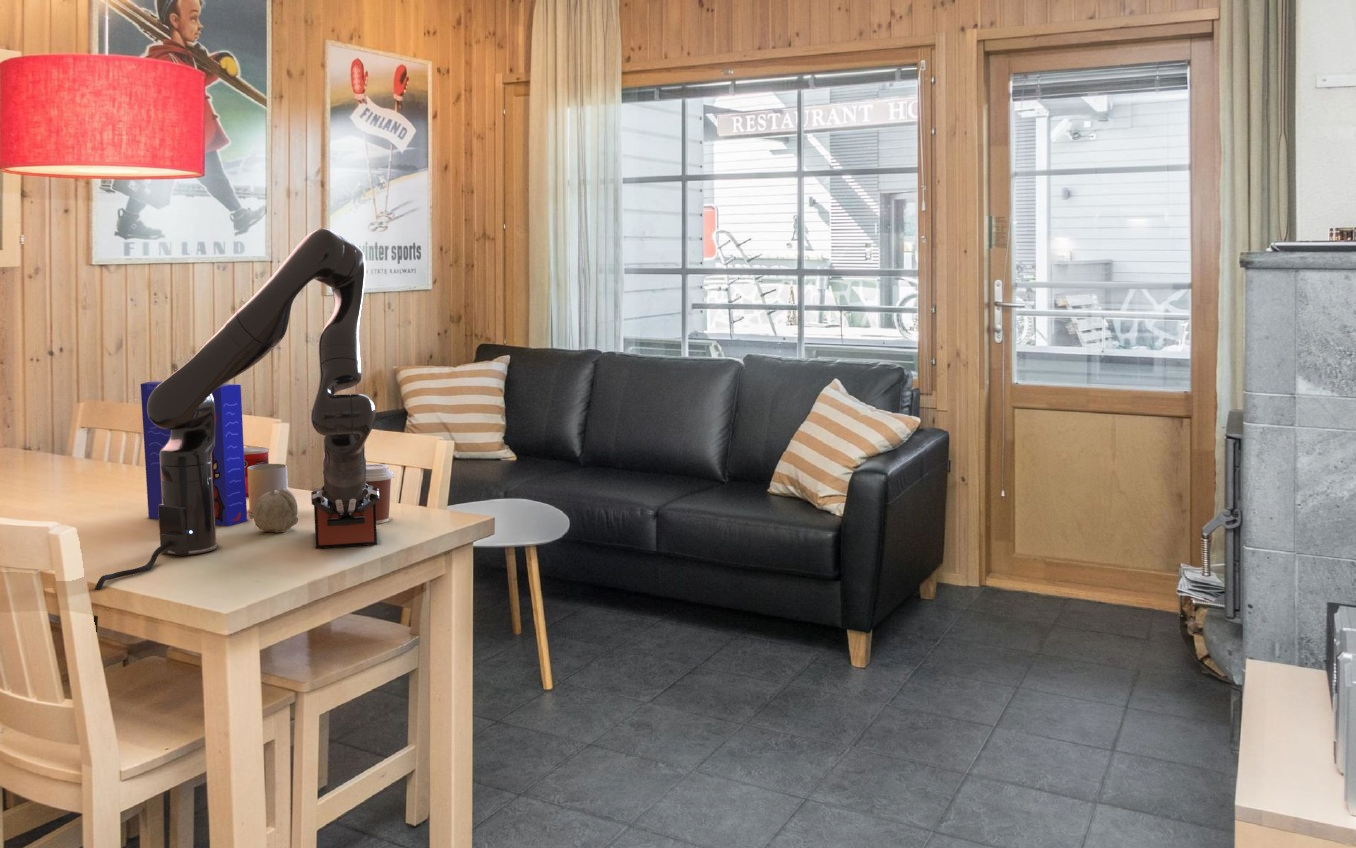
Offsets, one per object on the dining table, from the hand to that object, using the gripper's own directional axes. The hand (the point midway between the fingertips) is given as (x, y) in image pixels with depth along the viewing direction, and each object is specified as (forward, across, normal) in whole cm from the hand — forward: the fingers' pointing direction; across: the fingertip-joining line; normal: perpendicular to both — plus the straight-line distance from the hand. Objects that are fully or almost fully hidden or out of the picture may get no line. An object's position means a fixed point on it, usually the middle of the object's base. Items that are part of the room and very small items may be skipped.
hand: (346, 521), depth 221 cm
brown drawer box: (+6, 0, 0) cm, 6 cm away
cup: (+35, +16, -27) cm, 47 cm away
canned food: (+50, +21, -42) cm, 69 cm away
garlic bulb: (+18, +14, -10) cm, 25 cm away
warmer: (+10, 0, -2) cm, 10 cm away
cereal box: (+30, +31, -23) cm, 49 cm away
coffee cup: (+22, -6, -14) cm, 26 cm away
